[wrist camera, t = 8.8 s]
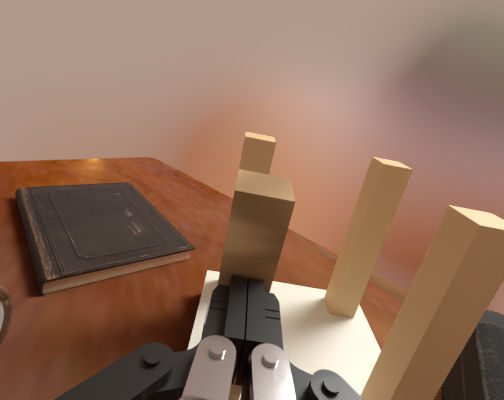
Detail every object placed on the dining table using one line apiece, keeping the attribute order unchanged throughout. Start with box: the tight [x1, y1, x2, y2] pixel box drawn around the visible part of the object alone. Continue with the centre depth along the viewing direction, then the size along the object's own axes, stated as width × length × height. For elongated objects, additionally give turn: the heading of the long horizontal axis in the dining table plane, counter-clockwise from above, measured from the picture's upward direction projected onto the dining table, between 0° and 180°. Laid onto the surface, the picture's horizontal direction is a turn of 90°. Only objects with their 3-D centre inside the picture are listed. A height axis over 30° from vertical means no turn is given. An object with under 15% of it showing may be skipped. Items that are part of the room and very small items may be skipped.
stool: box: [188, 132, 504, 400], centre depth 22 cm, size 16×18×18 cm
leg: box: [217, 169, 295, 400], centre depth 16 cm, size 2×2×15 cm
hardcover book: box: [16, 182, 195, 296], centre depth 41 cm, size 16×23×2 cm
